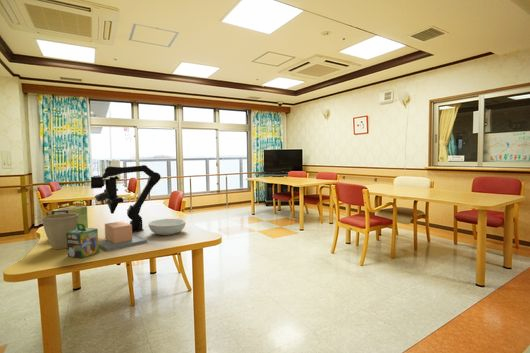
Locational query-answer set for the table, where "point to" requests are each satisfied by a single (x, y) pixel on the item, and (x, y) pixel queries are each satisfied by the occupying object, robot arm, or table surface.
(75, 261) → the table surface
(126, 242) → the board
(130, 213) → the robot arm
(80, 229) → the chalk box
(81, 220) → the protein box
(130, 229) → the terracotta carton
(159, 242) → the table surface
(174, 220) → the serving bowl
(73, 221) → the plant pot
